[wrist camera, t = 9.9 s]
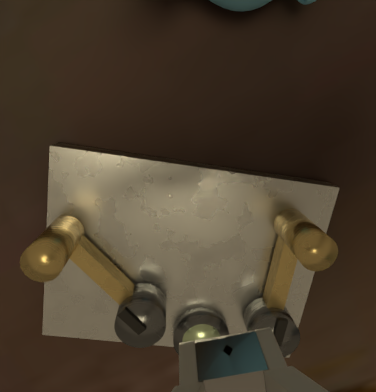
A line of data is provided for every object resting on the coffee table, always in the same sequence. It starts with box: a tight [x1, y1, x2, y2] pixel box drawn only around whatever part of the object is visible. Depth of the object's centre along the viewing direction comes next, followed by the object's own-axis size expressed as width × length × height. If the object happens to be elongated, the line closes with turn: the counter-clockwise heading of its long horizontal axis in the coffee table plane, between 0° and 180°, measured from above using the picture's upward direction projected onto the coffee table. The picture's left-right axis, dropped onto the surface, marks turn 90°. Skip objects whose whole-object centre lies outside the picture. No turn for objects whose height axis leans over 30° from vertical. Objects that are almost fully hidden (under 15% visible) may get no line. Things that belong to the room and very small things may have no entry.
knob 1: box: [20, 215, 166, 348], centre depth 24 cm, size 12×4×6 cm, turn 40°
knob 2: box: [243, 209, 338, 357], centre depth 25 cm, size 12×4×6 cm, turn 171°
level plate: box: [42, 142, 339, 357], centre depth 28 cm, size 18×23×4 cm
